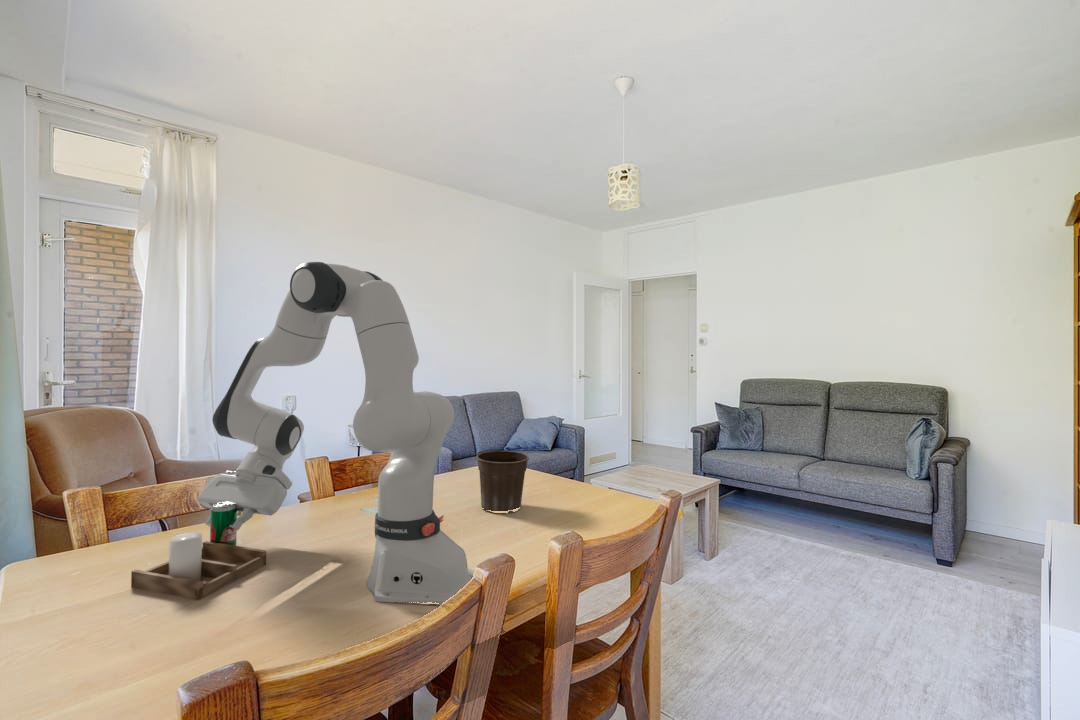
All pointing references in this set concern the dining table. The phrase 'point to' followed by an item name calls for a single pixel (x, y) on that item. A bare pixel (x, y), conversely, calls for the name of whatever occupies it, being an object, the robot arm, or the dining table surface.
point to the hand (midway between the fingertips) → (221, 527)
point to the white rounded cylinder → (186, 556)
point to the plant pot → (501, 479)
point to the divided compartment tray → (203, 571)
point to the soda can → (223, 523)
